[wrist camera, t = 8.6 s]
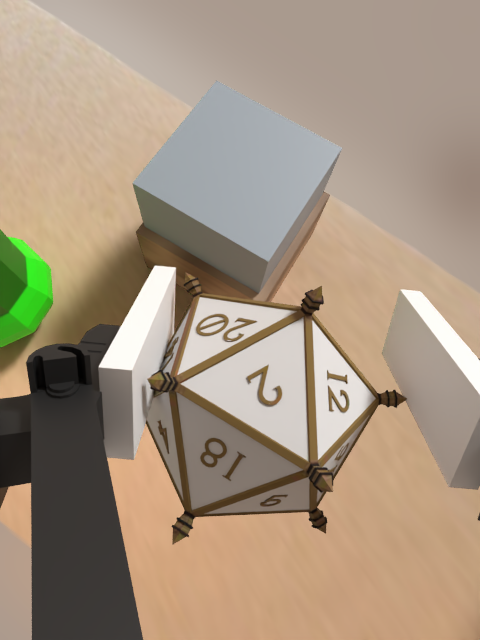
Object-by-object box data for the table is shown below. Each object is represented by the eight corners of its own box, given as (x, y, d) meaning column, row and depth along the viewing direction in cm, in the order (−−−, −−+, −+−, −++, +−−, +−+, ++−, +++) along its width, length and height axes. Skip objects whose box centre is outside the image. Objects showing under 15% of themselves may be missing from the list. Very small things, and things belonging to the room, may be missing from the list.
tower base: (312, 233, 45) (330, 194, 38) (253, 329, 42) (262, 305, 35) (212, 178, 46) (212, 131, 40) (147, 267, 43) (136, 232, 36)
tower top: (322, 194, 38) (342, 148, 33) (258, 293, 35) (268, 261, 30) (215, 135, 40) (216, 80, 34) (144, 226, 36) (132, 183, 31)
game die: (205, 436, 22) (8, 422, 14) (290, 286, 21) (134, 185, 13) (352, 577, 16) (165, 682, 9) (472, 381, 16) (389, 302, 8)
